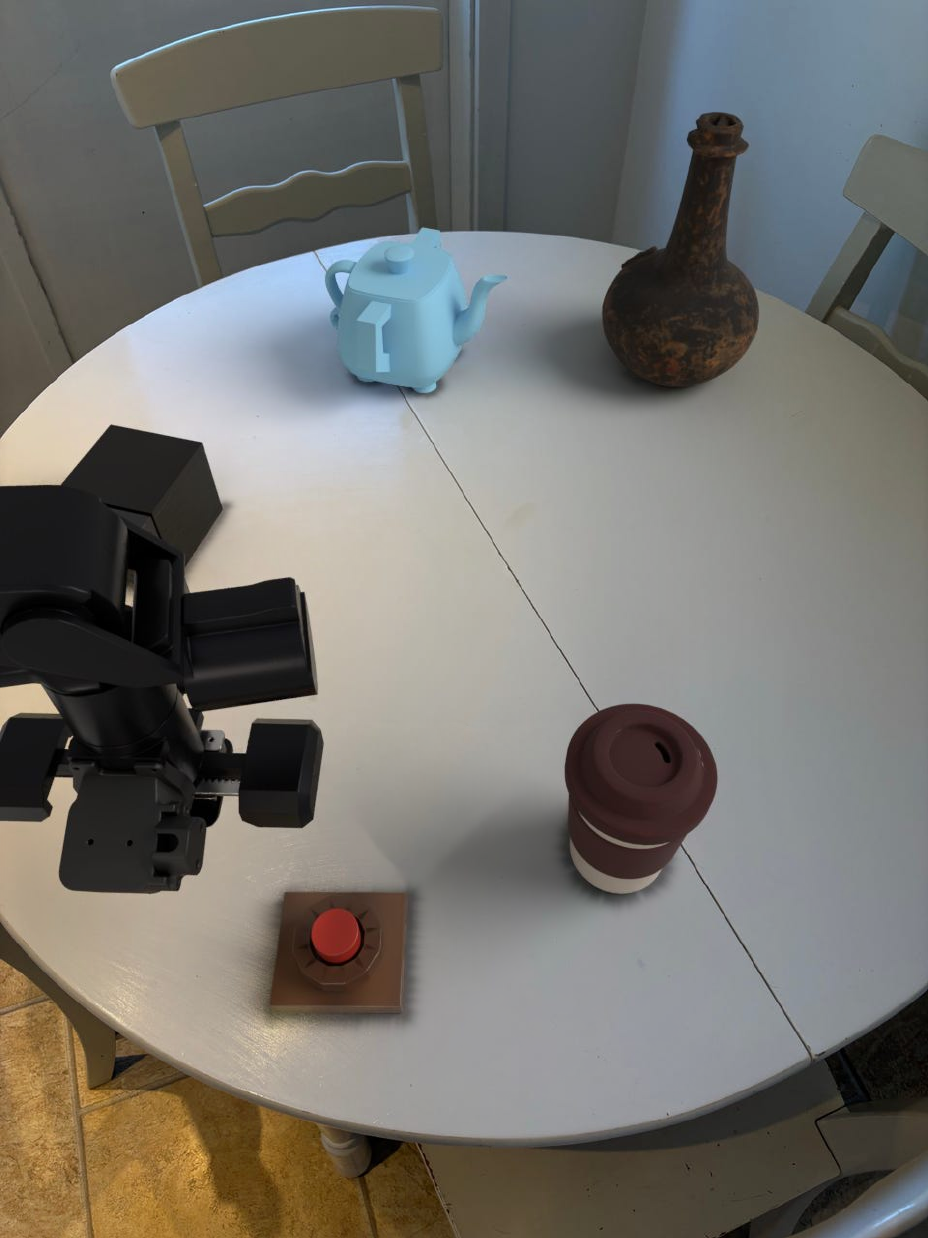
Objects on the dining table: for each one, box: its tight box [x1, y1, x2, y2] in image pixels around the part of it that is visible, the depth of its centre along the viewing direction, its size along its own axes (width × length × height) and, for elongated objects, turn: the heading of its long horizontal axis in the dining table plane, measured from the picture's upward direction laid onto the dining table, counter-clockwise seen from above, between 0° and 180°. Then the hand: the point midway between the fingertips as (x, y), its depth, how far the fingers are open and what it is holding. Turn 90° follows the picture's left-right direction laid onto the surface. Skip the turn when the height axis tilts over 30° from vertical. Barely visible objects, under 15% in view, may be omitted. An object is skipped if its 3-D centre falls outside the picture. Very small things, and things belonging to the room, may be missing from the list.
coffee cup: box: [564, 703, 719, 895], centre depth 63 cm, size 10×10×15 cm
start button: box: [311, 909, 361, 963], centre depth 61 cm, size 3×3×2 cm
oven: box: [60, 423, 224, 568], centre depth 87 cm, size 10×10×9 cm
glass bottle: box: [601, 111, 760, 388], centre depth 97 cm, size 18×18×28 cm
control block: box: [269, 891, 409, 1014], centre depth 63 cm, size 9×8×4 cm
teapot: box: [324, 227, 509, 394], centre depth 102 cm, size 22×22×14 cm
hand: (190, 830), depth 59 cm, fingers closed
